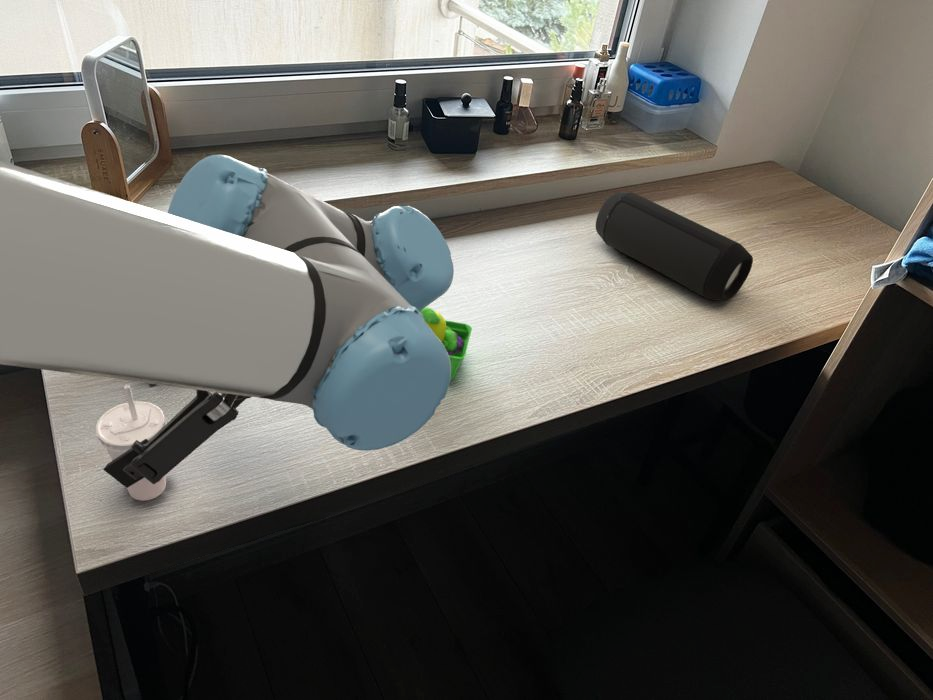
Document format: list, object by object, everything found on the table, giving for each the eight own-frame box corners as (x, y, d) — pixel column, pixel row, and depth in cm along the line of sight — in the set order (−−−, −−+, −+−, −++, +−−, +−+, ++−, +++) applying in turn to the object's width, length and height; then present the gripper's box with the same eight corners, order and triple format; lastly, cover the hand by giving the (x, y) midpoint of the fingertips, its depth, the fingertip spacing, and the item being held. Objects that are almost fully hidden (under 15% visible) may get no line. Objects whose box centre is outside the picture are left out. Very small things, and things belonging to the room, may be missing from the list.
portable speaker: (742, 294, 120) (763, 242, 114) (711, 315, 114) (732, 261, 108) (620, 231, 133) (633, 181, 127) (586, 246, 128) (598, 195, 122)
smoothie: (192, 482, 78) (172, 386, 70) (142, 520, 74) (114, 423, 65) (152, 456, 81) (128, 359, 72) (101, 491, 76) (69, 393, 68)
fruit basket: (469, 353, 101) (477, 285, 94) (459, 394, 94) (467, 325, 87) (389, 339, 101) (392, 271, 94) (373, 379, 95) (375, 309, 88)
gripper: (264, 470, 52) (114, 550, 63) (369, 287, 71) (241, 372, 82) (184, 401, 49) (41, 497, 60) (316, 230, 69) (190, 326, 79)
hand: (156, 425), depth 71 cm, fingers open, 13 cm apart
